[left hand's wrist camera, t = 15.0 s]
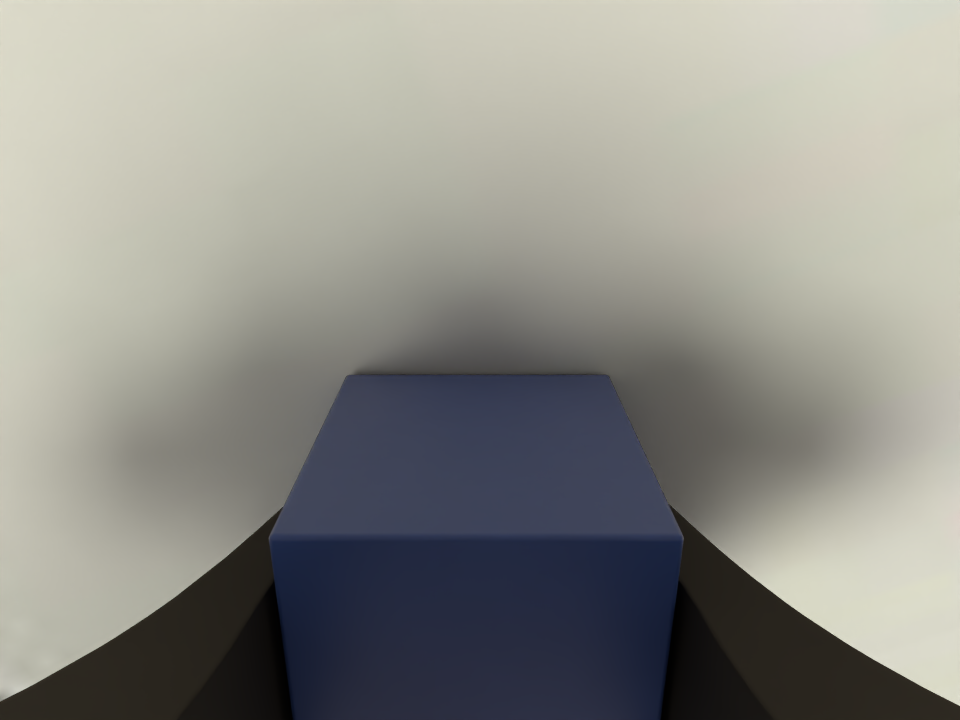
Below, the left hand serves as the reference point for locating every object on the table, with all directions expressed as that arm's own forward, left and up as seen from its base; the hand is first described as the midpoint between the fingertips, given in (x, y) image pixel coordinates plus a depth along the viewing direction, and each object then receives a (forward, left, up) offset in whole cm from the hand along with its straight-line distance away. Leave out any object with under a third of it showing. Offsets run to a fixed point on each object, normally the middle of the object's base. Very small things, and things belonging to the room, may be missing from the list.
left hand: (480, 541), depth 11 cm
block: (0, 0, -1) cm, 1 cm away
